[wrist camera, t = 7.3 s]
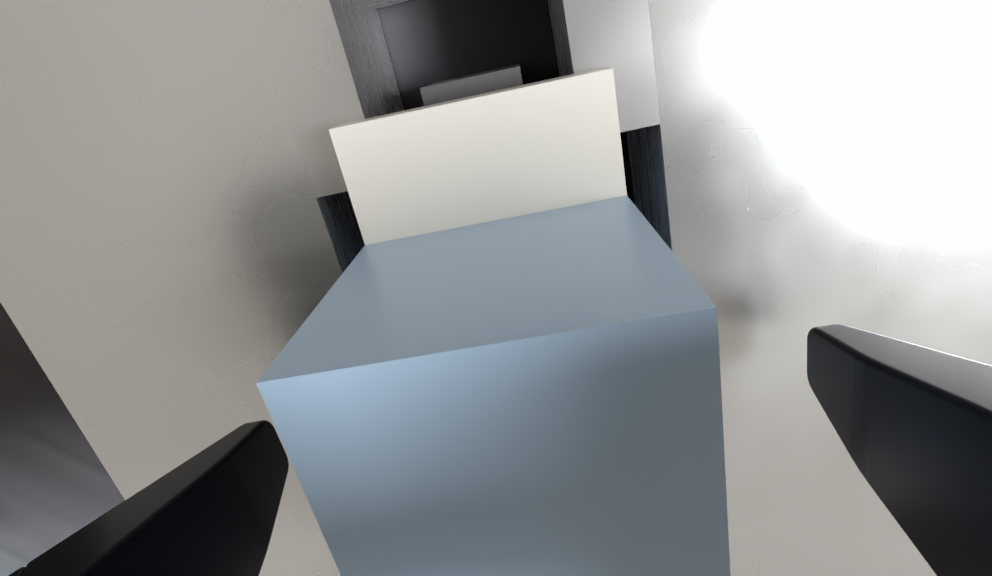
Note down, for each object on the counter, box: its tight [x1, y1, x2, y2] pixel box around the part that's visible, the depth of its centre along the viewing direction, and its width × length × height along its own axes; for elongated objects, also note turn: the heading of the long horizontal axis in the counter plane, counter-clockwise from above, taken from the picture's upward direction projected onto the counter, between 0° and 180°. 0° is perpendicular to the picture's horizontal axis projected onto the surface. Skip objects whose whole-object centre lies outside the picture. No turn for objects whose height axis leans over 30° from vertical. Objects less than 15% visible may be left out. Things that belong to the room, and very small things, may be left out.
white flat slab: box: [0, 0, 992, 576], centre depth 11 cm, size 18×16×3 cm
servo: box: [256, 64, 731, 576], centre depth 9 cm, size 4×10×8 cm, turn 12°
